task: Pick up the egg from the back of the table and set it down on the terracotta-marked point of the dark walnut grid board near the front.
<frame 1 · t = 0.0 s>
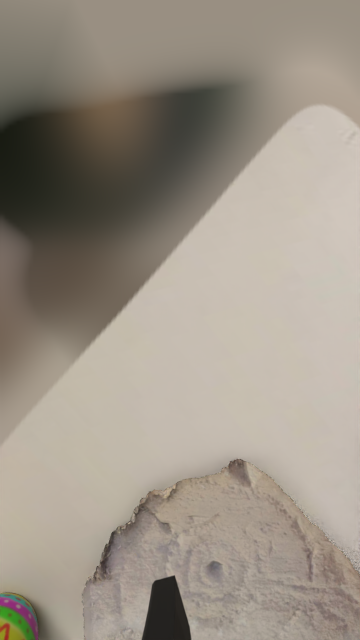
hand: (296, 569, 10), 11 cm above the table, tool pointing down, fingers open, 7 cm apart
decorative stone: (257, 586, 21), on the table
egg: (9, 614, 20), on the table
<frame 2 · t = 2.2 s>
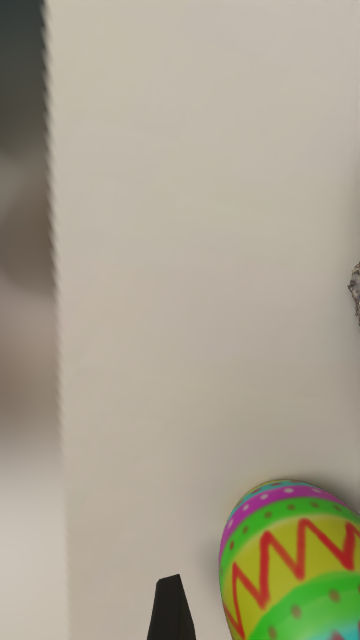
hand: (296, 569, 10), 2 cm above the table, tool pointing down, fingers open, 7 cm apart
egg: (273, 515, 12), on the table
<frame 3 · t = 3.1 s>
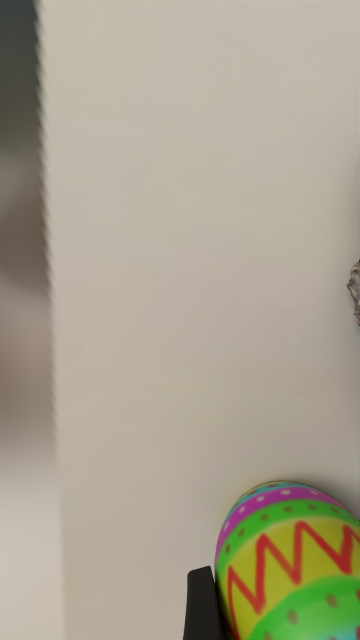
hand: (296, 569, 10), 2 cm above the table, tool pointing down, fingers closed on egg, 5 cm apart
egg: (270, 516, 12), on the table, touching gripper
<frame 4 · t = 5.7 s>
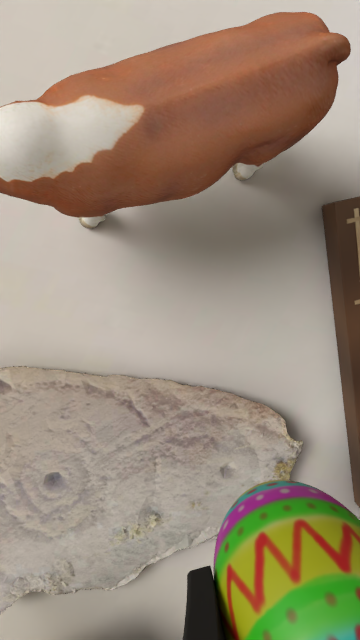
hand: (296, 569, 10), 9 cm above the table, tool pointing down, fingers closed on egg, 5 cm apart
bull figurine: (138, 173, 15), on the table
decorative stone: (116, 463, 18), on the table
egg: (270, 515, 12), point 7 cm above the table, touching gripper
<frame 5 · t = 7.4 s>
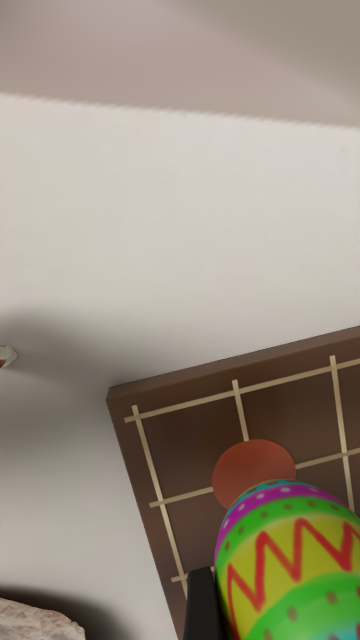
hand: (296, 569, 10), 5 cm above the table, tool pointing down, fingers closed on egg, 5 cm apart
board: (339, 509, 16), on the table
egg: (270, 514, 12), point 3 cm above the table, touching gripper
when the fingers open (3 cm above the table, at t = 8.6 s): egg stays where it is, resting on board.
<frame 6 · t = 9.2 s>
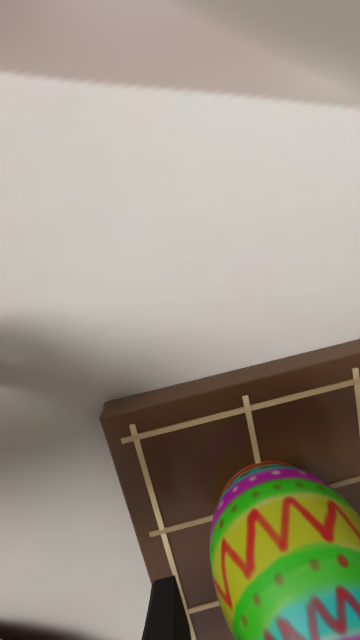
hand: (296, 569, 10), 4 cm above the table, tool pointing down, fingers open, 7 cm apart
board: (357, 533, 14), on the table
egg: (263, 498, 12), point 1 cm above the table, touching board
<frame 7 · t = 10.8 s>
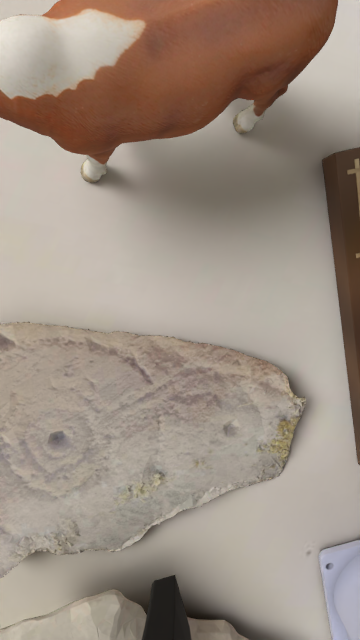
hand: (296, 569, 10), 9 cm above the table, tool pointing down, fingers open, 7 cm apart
bull figurine: (139, 126, 16), on the table
decorative stone: (120, 423, 19), on the table
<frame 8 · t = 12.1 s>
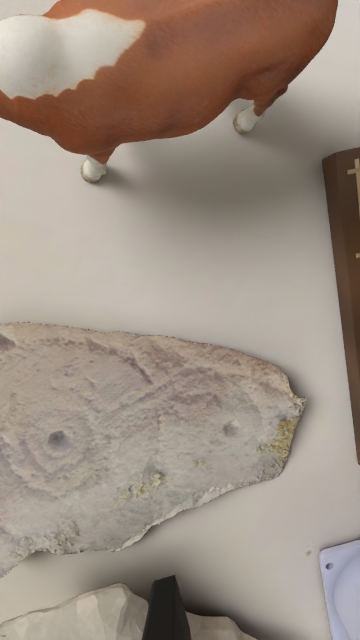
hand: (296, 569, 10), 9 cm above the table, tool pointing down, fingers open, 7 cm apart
bull figurine: (139, 126, 16), on the table
decorative stone: (120, 423, 19), on the table
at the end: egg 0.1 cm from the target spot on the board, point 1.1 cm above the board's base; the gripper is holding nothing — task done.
